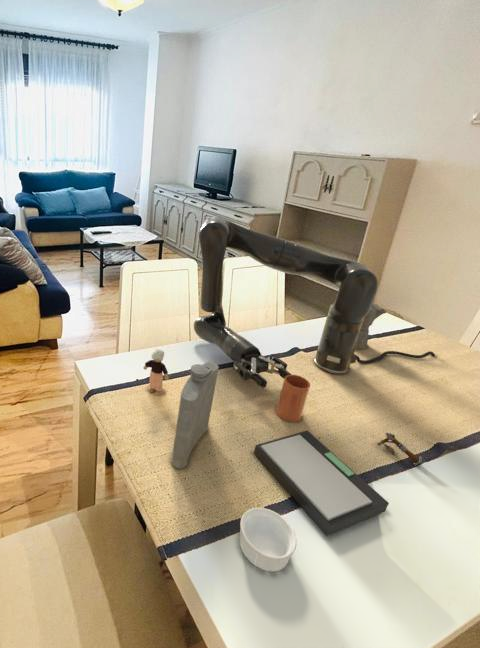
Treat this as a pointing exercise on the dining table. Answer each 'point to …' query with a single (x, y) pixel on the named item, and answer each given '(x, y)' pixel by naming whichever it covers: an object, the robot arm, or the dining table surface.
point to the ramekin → (266, 539)
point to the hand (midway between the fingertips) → (278, 382)
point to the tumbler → (293, 397)
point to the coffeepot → (368, 320)
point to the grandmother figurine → (157, 372)
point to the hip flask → (194, 411)
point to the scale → (320, 482)
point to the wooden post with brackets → (401, 447)
